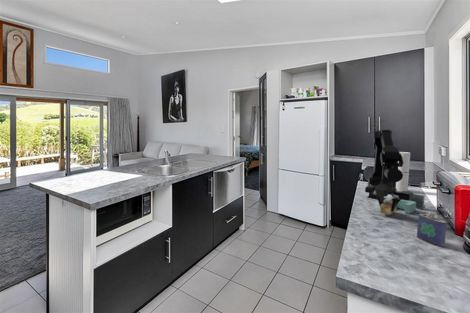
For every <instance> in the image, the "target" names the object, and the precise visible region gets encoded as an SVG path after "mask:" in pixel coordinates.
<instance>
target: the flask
mask: <svg viewBox="0 0 470 313" xmlns="http://www.w3.org/2000/svg"><path fill="white" fill-rule="evenodd" d="M435 216H436V213H435V212H428V214H427V213H419V214H418V219H417V231H416V238H417V239H419V240H422V241H423V242H426V243H429V244H431V245H434V246H437V247H439V248H444V247H445V246H446V232H447V225H448V224H447V223H448V222H447V221H445V220H441V219H439V218H435Z"/></svg>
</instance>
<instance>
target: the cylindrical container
mask: <svg viewBox="0 0 470 313" xmlns="http://www.w3.org/2000/svg"><path fill="white" fill-rule="evenodd" d="M399 152H400V153H401V156H402V158H403V165H402V167H398V169H399V170H400V171H401V172H402V174H403V178H402V179H401V180H400V181H398V182H396V188H397V191H407V192H409V191H408V189H409V177H410V176H409V174H410V166H411V165H410V162H411V152H410V151H409V152H407V151H406V152H405V151H399ZM398 163H399V161H398Z"/></svg>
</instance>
